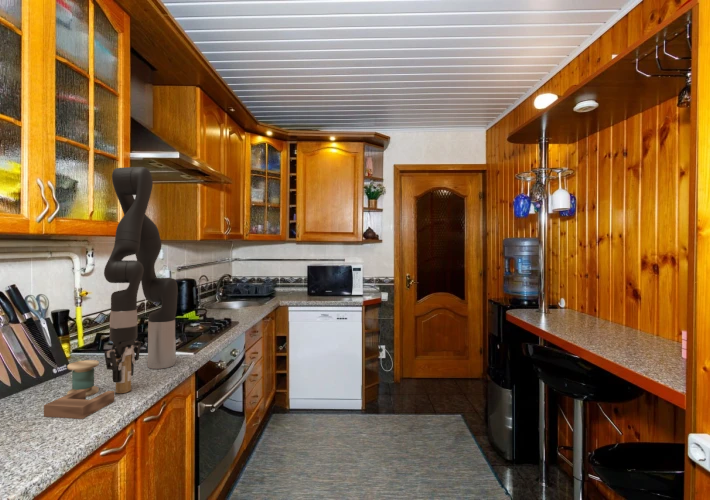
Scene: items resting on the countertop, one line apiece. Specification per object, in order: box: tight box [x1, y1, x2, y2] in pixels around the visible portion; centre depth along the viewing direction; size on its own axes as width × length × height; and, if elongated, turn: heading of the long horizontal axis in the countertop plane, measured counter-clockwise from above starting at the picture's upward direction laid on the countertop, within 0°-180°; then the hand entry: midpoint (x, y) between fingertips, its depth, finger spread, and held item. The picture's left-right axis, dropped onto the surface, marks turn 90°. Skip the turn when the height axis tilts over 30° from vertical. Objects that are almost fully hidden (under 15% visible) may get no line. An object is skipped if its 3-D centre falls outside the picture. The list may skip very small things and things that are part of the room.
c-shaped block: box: [43, 389, 115, 420], centre depth 112 cm, size 12×11×3 cm
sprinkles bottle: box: [114, 348, 132, 394], centre depth 126 cm, size 5×5×14 cm
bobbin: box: [66, 359, 100, 397], centre depth 124 cm, size 8×8×9 cm
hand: (123, 378), depth 126 cm, fingers open, 5 cm apart
